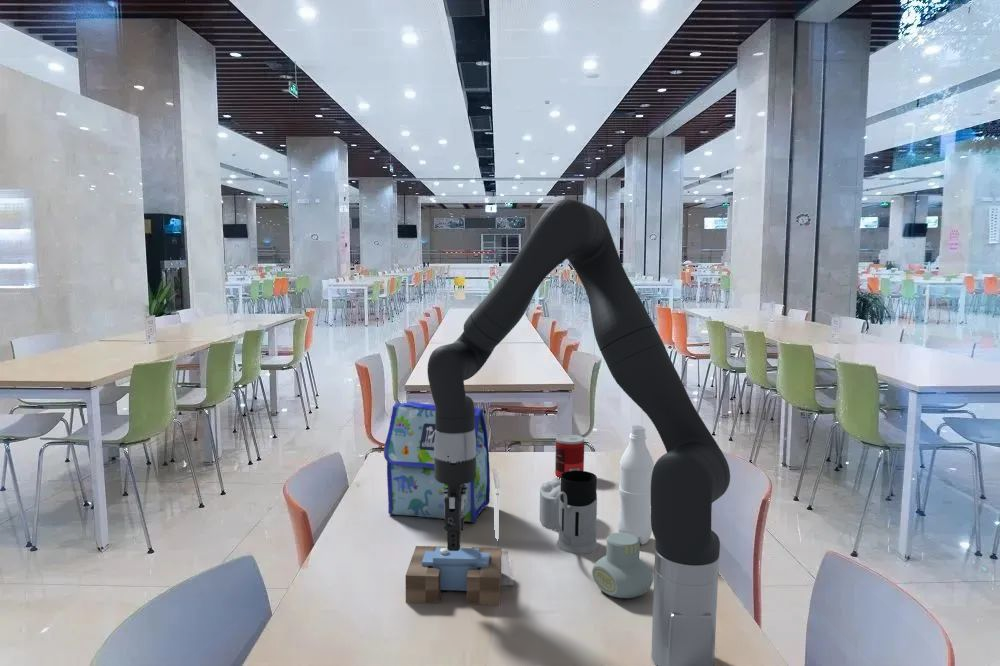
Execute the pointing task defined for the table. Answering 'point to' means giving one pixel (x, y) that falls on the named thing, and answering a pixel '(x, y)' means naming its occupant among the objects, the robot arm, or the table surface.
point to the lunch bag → (428, 464)
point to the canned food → (569, 454)
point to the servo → (455, 565)
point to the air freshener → (622, 568)
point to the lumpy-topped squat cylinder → (549, 503)
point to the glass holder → (577, 512)
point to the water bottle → (636, 487)
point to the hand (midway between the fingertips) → (456, 540)
